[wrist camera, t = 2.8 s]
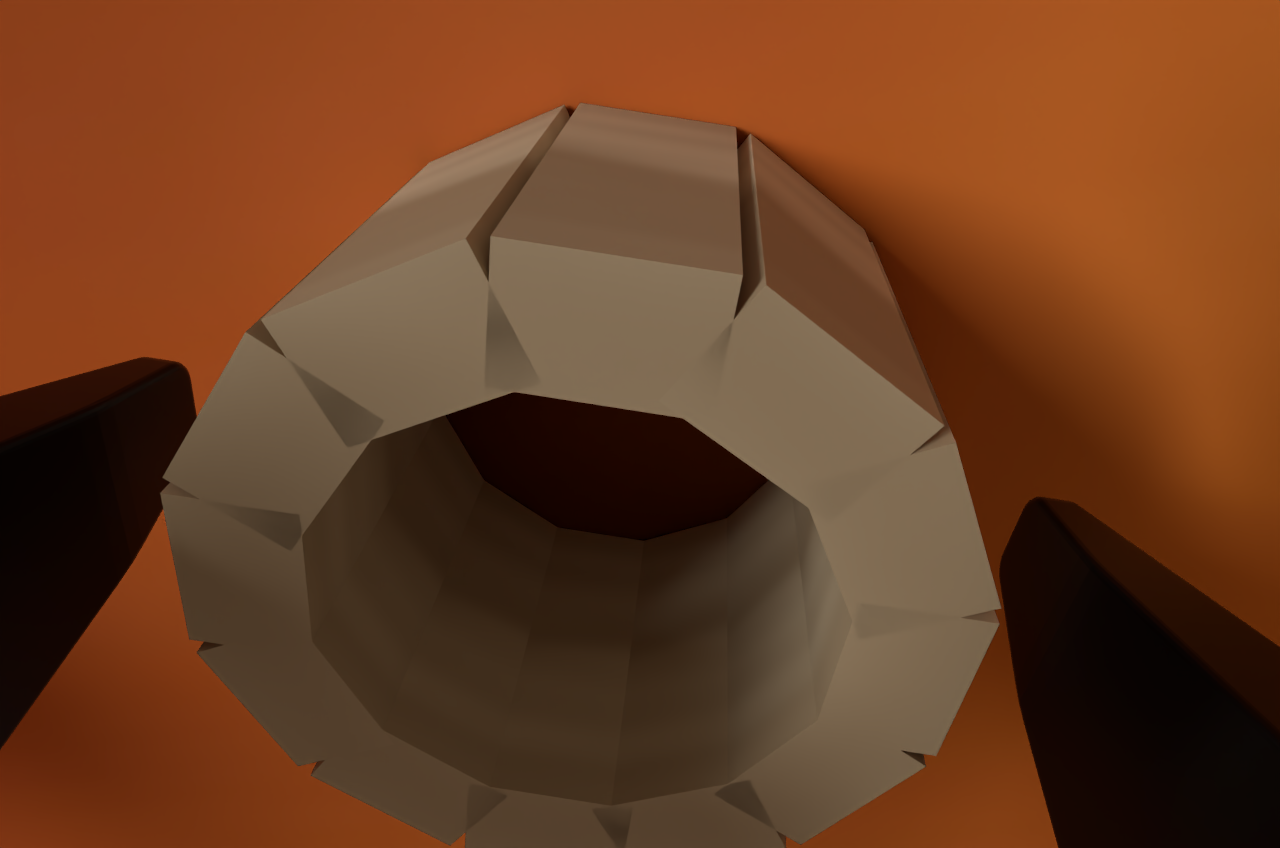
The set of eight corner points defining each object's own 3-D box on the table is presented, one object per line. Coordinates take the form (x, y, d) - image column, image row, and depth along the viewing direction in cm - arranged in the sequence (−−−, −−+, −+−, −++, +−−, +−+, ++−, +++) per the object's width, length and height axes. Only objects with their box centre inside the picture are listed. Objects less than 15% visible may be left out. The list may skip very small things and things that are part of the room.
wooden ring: (362, 557, 12) (224, 813, 9) (336, 64, 9) (97, 174, 5) (823, 630, 12) (860, 912, 9) (978, 164, 9) (1139, 337, 5)
